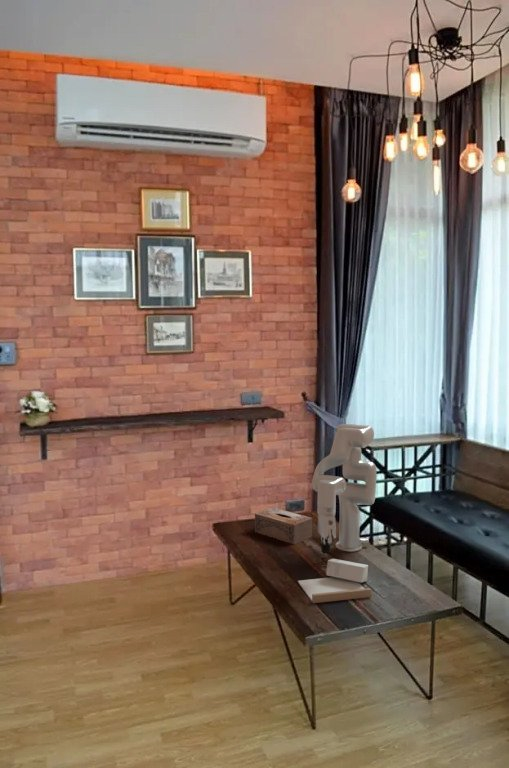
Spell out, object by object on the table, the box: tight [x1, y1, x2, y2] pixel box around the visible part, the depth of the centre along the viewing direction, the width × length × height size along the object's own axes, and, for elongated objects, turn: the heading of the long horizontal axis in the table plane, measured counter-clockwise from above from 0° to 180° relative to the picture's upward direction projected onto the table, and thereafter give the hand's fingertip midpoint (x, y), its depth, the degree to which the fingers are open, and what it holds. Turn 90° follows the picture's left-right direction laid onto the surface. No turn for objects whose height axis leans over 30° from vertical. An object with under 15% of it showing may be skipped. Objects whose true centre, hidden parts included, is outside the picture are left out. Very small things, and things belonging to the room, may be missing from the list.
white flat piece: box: [297, 576, 372, 604], centre depth 243 cm, size 24×19×3 cm
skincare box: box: [325, 558, 369, 583], centre depth 251 cm, size 8×7×16 cm
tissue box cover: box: [254, 507, 313, 545], centre depth 306 cm, size 26×14×10 cm, turn 48°
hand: (325, 552), depth 251 cm, fingers closed
